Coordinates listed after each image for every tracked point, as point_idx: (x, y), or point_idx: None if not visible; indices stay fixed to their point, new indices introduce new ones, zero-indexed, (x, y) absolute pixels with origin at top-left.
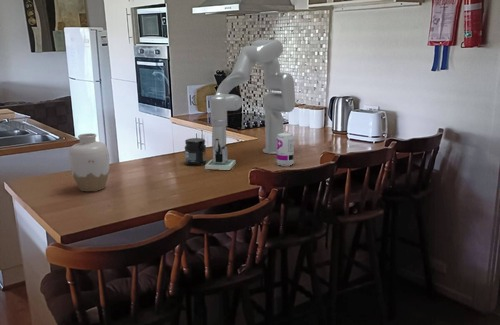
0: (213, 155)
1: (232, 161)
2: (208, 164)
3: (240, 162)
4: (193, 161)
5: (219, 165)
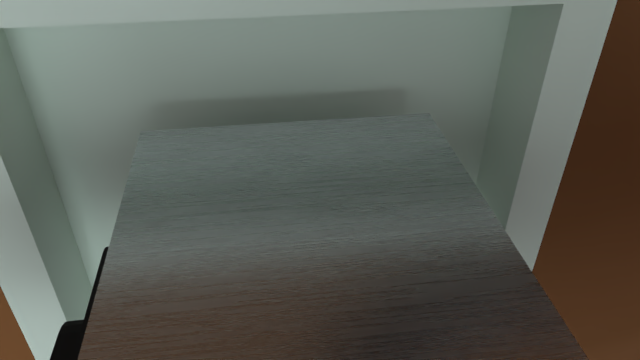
0: (95, 325)
1: None
2: (65, 20)
3: (588, 328)
4: None
5: (40, 297)
